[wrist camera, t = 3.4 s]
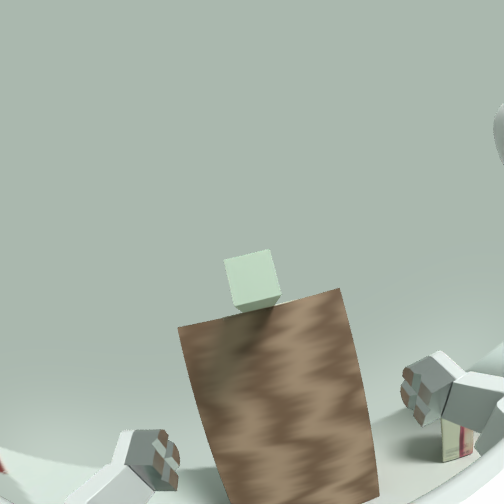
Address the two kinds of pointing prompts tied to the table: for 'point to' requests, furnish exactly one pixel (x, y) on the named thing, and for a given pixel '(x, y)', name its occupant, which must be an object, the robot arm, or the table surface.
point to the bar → (253, 281)
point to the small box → (455, 440)
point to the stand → (284, 403)
